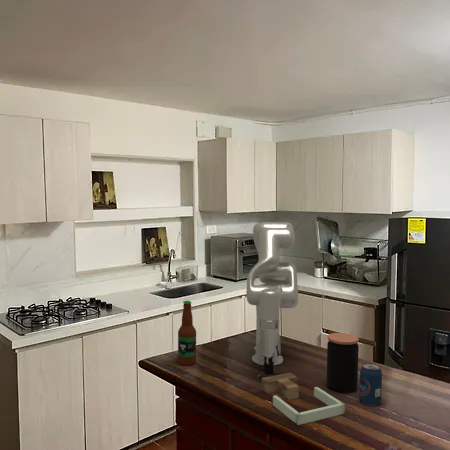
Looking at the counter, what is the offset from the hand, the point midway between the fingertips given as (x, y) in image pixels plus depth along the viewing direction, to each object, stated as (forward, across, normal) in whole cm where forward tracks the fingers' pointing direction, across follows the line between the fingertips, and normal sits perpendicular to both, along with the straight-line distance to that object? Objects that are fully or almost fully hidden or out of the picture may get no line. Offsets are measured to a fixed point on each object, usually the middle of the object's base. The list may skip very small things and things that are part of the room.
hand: (268, 373), depth 165 cm
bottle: (+3, -30, -20) cm, 36 cm away
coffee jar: (+3, +14, +22) cm, 26 cm away
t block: (+3, +10, +1) cm, 11 cm away
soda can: (+4, +28, +23) cm, 36 cm away
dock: (+4, +24, +1) cm, 24 cm away
